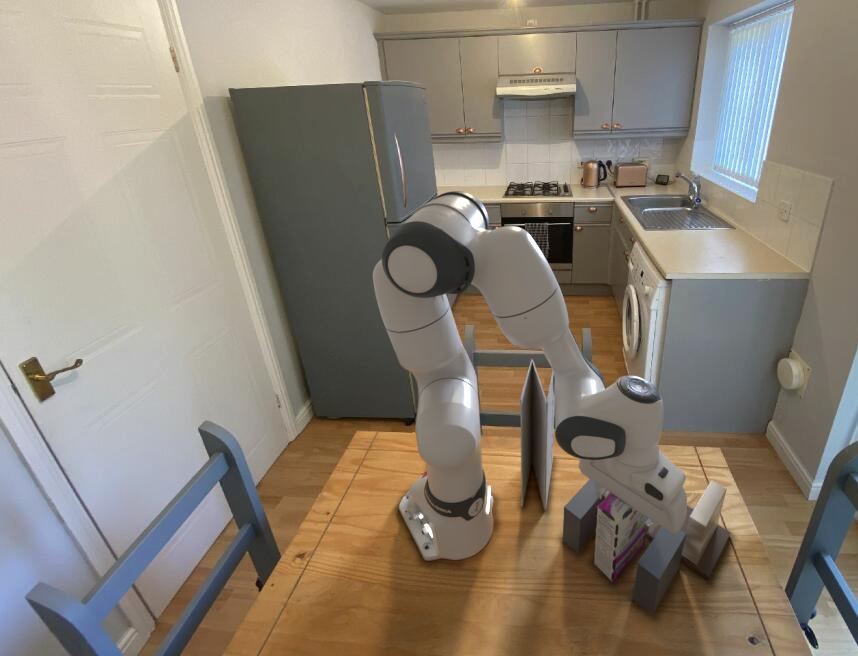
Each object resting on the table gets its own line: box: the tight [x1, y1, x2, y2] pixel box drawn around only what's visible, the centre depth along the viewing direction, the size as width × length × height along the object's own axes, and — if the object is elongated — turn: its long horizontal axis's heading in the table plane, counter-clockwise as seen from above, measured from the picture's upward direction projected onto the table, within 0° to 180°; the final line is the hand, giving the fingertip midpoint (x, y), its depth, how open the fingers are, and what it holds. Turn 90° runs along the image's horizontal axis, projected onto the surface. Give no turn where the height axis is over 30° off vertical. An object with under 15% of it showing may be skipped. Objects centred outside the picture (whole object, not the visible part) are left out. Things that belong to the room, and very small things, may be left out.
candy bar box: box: [593, 493, 648, 583], centre depth 81 cm, size 11×5×16 cm, turn 131°
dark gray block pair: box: [562, 478, 686, 616], centre depth 82 cm, size 20×11×10 cm, turn 46°
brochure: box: [519, 358, 555, 511], centre depth 95 cm, size 14×6×30 cm, turn 168°
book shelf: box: [645, 480, 732, 581], centre depth 89 cm, size 26×12×12 cm, turn 46°
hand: (626, 513), depth 80 cm, fingers open, 8 cm apart
